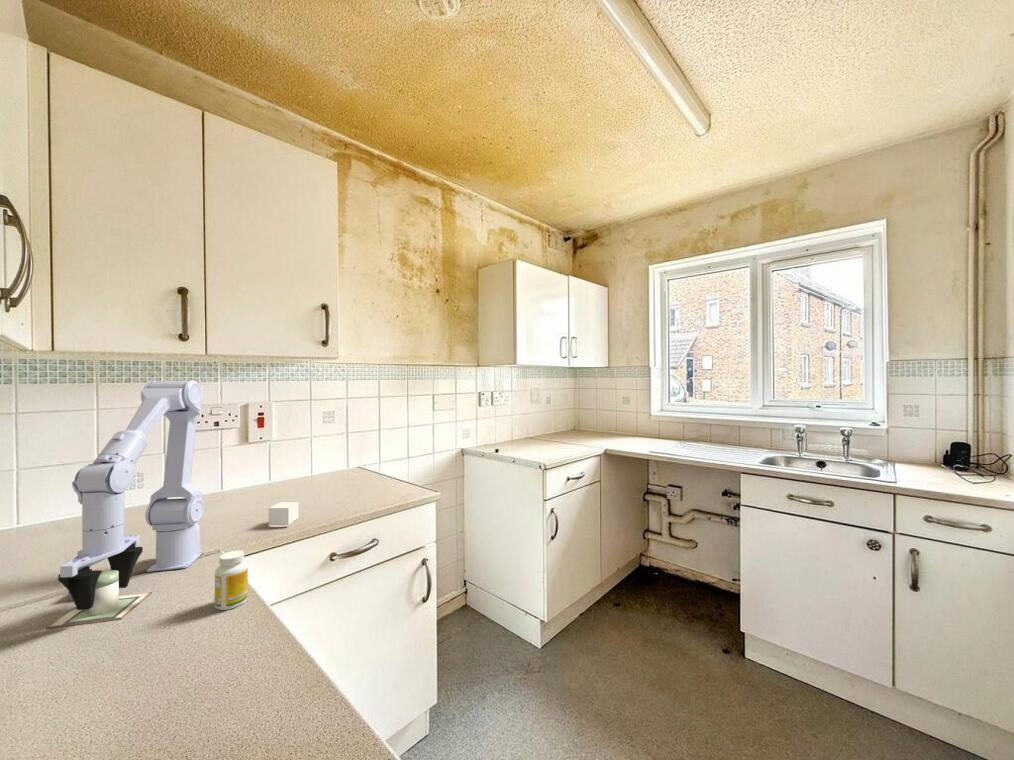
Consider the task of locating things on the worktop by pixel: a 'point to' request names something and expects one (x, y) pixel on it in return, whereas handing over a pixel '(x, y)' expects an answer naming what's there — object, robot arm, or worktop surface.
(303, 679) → the worktop surface
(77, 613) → the picture board
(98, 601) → the green and cream cylinder
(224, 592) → the supplement bottle
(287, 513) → the white cube
